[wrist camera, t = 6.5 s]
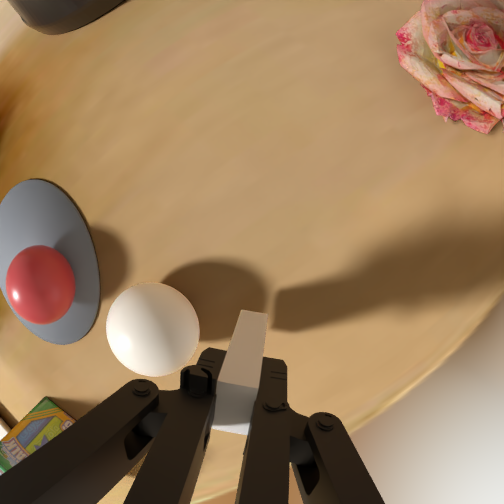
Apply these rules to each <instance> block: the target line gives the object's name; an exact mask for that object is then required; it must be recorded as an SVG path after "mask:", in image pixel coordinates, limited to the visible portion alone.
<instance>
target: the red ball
mask: <svg viewBox="0 0 504 504" xmlns="http://www.w3.org/2000/svg"><path fill="white" fill-rule="evenodd" d="M75 289H76V285H75V277H74V273H73V270H72V268H71V266H70V264H69V262H68V261H67V259H66V258H65V257H64V256H63V255H62V254H61V253H60V252H59V251H57V250H55V249H54V248H51V247H49V246H44V245H34V246H30V247H27V248H25V249H23V250H22V251H20V252H19V253H18V254H17V255H16V256H15V257H14V259H13V260H12V262H11V263H10V266H9V268H8V271H7V275H6V291H7V296H8V299H9V301H10V303H11V305H12V307H13V309H14V310H15V311H16V312H17V313H18V314H19V315H20V316H21V317H22V318H23V319H25V320H27V321H29V322H31V323H34V324H39V325H44V324H50V323H53V322H56V321H57V320H59V319H61V318H62V317H63V316H64V315H65V314H66V313H67V312H68V310H69V309H70V307H71V305H72V303H73V300H74V296H75Z"/></svg>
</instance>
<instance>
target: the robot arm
mask: <svg viewBox="0 0 504 504" xmlns="http://www.w3.org/2000/svg"><path fill="white" fill-rule="evenodd" d="M122 1H123V0H8V2H9V3H10V4H11V5H12V7H13V8H14V9H15V10H16V12H17V13H18V14H19V15H20V16H21V18H22V20H23V22H24V23H25V24H26V25H28V26H29V27H31V28H33V29H35V30H37V31H39V32H42V33H44V34H48V35H57V34H62V33H66V32H69V31H72V30H74V29H77V28H79V27H81V26H83V25H85V24H87V23H89V22H91V21H93V20H95V19H96V18H98V17H100V16H101V15H103V14H105V13H106V12H108V11H109V10H111V9H112V8H114V7H115V6H117V5H118V4H119V3H121V2H122ZM267 319H268V314H265V313H259V312H254V311H248V310H242V309H241V312H240V315H239V318H238V321H237V324H236V327H235V330H234V333H233V336H232V338H231V341H230V344H229V347H228V350H227V351H224V350H219V349H215V348H210V347H209V348H207V349H206V350H204V351H203V352H202V353H201V355H200V357H199V360H198V362H197V364H196V365H191V366H187V367H185V368H183V369H182V370H181V376H180V389H178V390H171V391H166V390H159V389H158V387H157V385H156V384H155V383H153V382H152V381H149V380H146V379H135V380H132V381H130V382H128V383H127V384H125V385H124V386H123V387H121V388H120V389H119V390H117V391H116V392H115V393H113V394H112V395H111V396H110V397H108V398H107V399H106V400H104V401H103V402H102V403H100V404H99V405H98V406H96V407H95V408H94V409H92V410H91V411H90V412H88V413H87V414H86V415H84V416H83V417H81V418H80V419H79V420H77V421H76V422H75V423H73V424H72V425H71V426H69V427H68V428H67V429H65V430H64V431H62V432H61V433H60V434H58V435H57V436H56V437H54V438H53V439H51V440H50V441H49V442H47V443H46V444H44V445H43V446H42V447H40V448H39V449H37V450H36V451H35V452H33V453H32V454H30V455H29V456H27V457H26V458H25V459H23V460H22V461H20V462H19V463H17V464H16V465H15V466H13V467H12V468H10V469H9V470H7V471H6V472H4V473H3V474H1V475H0V504H97V503H98V502H99V501H100V500H101V499H102V498H103V497H104V496H105V495H106V494H107V493H108V492H109V491H110V490H111V489H112V488H113V487H114V486H115V485H116V484H117V483H118V482H119V481H120V480H121V479H122V478H123V477H124V476H125V475H126V474H127V473H128V472H129V471H130V470H131V469H132V468H133V467H134V466H135V465H136V464H137V463H138V462H139V461H140V459H141V458H142V457H143V456H144V455H145V454H146V453H147V452H148V451H149V452H148V454H147V456H146V458H145V460H144V462H143V464H142V466H141V468H140V470H139V472H138V474H137V476H136V478H135V480H134V482H133V485H132V487H131V489H130V491H129V493H128V495H127V497H126V499H125V501H124V503H123V504H190V501H191V498H192V495H193V492H194V488H195V485H196V482H197V478H198V475H199V472H200V469H201V465H202V462H203V459H204V455H205V452H206V449H207V445H208V442H209V439H210V430H211V427H212V429H217V430H222V431H227V432H232V433H237V434H243V435H247V440H246V444H245V448H244V453H243V455H244V456H243V461H242V467H241V473H240V478H239V484H238V489H237V494H236V501H235V504H288V495H289V462H291V465H292V468H293V471H294V475H295V478H296V481H297V484H298V488H299V491H300V494H301V497H302V500H303V503H304V504H385V503H384V501H383V499H382V497H381V495H380V493H379V491H378V490H377V488H376V486H375V484H374V482H373V480H372V478H371V476H370V475H369V473H368V471H367V469H366V467H365V465H364V463H363V461H362V460H361V458H360V456H359V454H358V452H357V450H356V448H355V447H354V444H353V443H352V441H351V439H350V437H349V435H348V433H347V431H346V429H345V427H344V426H343V424H342V422H341V421H340V419H339V418H338V417H336V416H335V415H333V414H330V413H327V412H319V413H314V414H313V415H311V416H310V418H309V417H306V416H303V415H301V414H298V413H296V412H295V411H293V410H292V409H291V408H290V406H289V404H288V402H287V366H286V364H285V362H284V361H283V360H280V359H274V358H267V357H263V351H264V343H265V335H266V327H267Z"/></svg>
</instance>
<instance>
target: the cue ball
mask: <svg viewBox="0 0 504 504" xmlns="http://www.w3.org/2000/svg"><path fill="white" fill-rule="evenodd" d="M106 332H107V338H108V342H109V345H110V347H111V349H112V351H113V353H114V354H115V356H116V357H117V359H118V360H119V361H120V362H121V363H122V364H123V365H124V366H126V367H127V368H128V369H130V370H132V371H134V372H136V373H138V374H141V375H145V376H152V377H157V376H165V375H169V374H172V373H174V372H176V371H178V370H179V369H181V368H182V367H183V366H185V365H186V364H187V363H188V361H189V360H190V359H191V358H192V356H193V354H194V353H195V351H196V348H197V345H198V342H199V334H200V328H199V321H198V317H197V315H196V312H195V310H194V308H193V306H192V305H191V303H190V302H189V300H188V299H187V298H186V297H185V296H184V295H183V294H182V293H180V292H179V291H178V290H176V289H174V288H173V287H170V286H168V285H165V284H162V283H156V282H146V283H140V284H137V285H134V286H132V287H130V288H128V289H126V290H125V291H123V292H122V293H121V294H120V295H119V296H118V297H117V298H116V299H115V301H114V302H113V304H112V306H111V308H110V310H109V313H108V316H107V323H106Z"/></svg>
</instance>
